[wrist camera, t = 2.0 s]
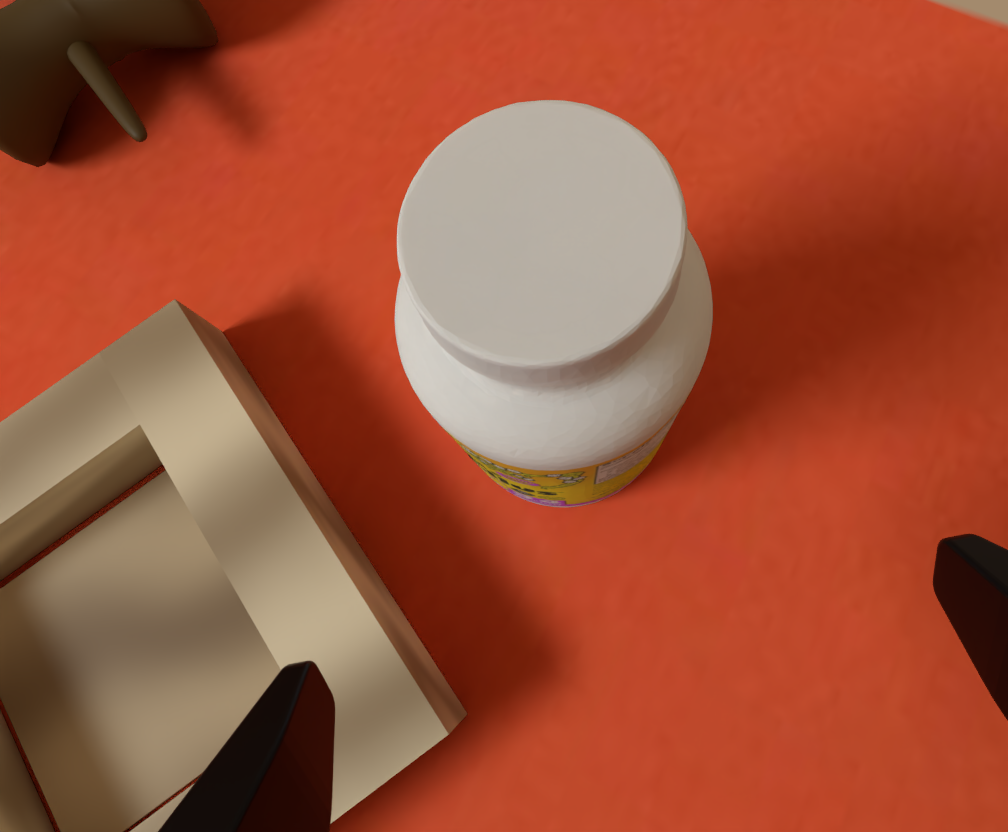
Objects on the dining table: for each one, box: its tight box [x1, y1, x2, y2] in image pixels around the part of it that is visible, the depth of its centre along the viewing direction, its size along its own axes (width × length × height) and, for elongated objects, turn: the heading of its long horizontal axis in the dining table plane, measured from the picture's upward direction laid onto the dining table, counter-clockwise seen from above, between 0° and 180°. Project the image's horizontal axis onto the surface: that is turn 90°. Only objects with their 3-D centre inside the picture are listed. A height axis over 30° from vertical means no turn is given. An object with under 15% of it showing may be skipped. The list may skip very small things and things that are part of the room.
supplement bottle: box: [395, 100, 713, 507], centre depth 17 cm, size 7×7×13 cm
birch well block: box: [0, 299, 467, 832], centre depth 22 cm, size 16×16×3 cm
